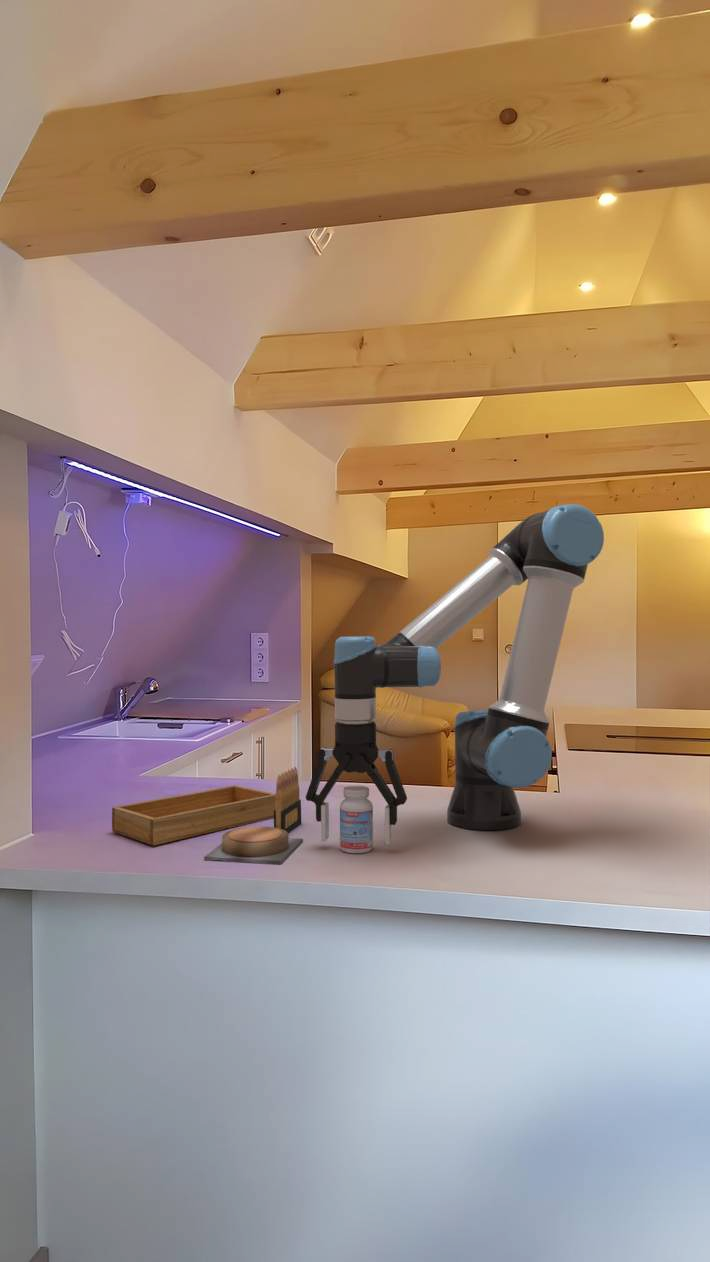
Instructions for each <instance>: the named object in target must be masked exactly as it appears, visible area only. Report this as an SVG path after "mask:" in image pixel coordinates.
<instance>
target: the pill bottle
mask: <svg viewBox="0 0 710 1262" xmlns="http://www.w3.org/2000/svg"><path fill="white" fill-rule="evenodd" d="M342 794H343V798H345V799H343V800H341V802H340V804H339V847H340V850H341V851H342V852H343V853H349V854H364V853H365V854H366V853H368V852H370V851H372V849H373V846H374V845H373V842H374V841H373V840H374V837H373V836H374V831H373V830H374V829H373V828H374V821H373V820H374V819H373V818H374V813H373V812H374V811H373V810H374V806H373V803H372V801H371V800H370V799H368V798H369V797H370V796H369V795H370V789H369V787H368V786H365V785H348V786H346V787H344V788H343V793H342Z"/></svg>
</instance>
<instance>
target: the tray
mask: <svg viewBox="0 0 710 1262" xmlns="http://www.w3.org/2000/svg"><path fill="white" fill-rule="evenodd" d="M275 796H276V793H274V792H273V793H272V792H269V791H263V790H259V789H254V788H249V787H244V786H242V785H241V786H240V785H229V786H228V785H227V786H223V787H219V788H213V789H212V788H211V789H206V790H201V791H195V792H190V793H185V794H179V795H173V796H169V797H168V796H167V797H162V798H156V799H151V800H146V801H139V802H134V803H128V804H122V805H117V806H113V807H112V809H111V810H112V811H111V828H112V829H111V831H112V832H113V833H114V834H117V835H121V836H124V837H126V838H130V839H133V840H136V841H138V842H141V843H145V844H148V845H151V846H158V845H162V844H167V843H171V842H174V841H175V842H176V841H178V840H183V839H188V838H193V837H196V836H200V835H205V834H211V833H213V832H217V831H222V830H227V828H228V829H231V828H232V829H233V828H237V827H240V826H244V824H245V825H250V824H254V823H258V822H257V821H259V822H263V821H268V820H271V818H272V819H274V810H275ZM262 820H263V821H262ZM253 822H254V823H253ZM249 823H250V824H249ZM236 826H237V827H236Z"/></svg>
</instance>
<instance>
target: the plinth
mask: <svg viewBox="0 0 710 1262" xmlns="http://www.w3.org/2000/svg"><path fill="white" fill-rule="evenodd" d="M303 842H304V839H303V838H301V837H300V838H297V837H295V838H294V837H289V833H288V832H287V831H285V830H283V829H279V828H274V826H273V827H271V826H248V827H241V828H235V829H232V830H229V831H227V832H225V833H223V834H222V836H221V844H219V845H218V846H217V847H215V848H214V849H213V850H211V851H209V852H208V853H207V854H206V855H205V856H203V859H205V860H204V861H211V860H224V861H223V862H229V861H238V862H237V863H246V862H250V864H264V863H266V864H265V865H282V864H283V863H284V862H285V861H286V860H287V859H289V857H290V856H291V855H292V854H293V852H294V851H296V849H298V847H299V846H300V845H302V844H303Z"/></svg>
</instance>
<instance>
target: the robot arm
mask: <svg viewBox="0 0 710 1262" xmlns="http://www.w3.org/2000/svg"><path fill="white" fill-rule="evenodd" d="M604 542H605V533H604V529H603V526H602V523H601V521H599V519H598V517H597V515H596V514H595V513H594V512H593V511H591V510H590V509H588V508H587V507H585V506H584V505H580V504H574V503H573V504H571V503H570V504H560V505H555V506H554V507H551V508H550V509H548V510H544V511H541V512H537V513H534V514H531V515H530V516H527V518H524V519H523V520H522V521H521V522H520V523H518V524H517V525H516V526H515V527H514V528H513V529H512V530H510V531H509V532H508V533H507V534H506V536H504V537H503V538H502V539H501V540H500V541H498V542H497V544H495V545H494V546H493V547H491V548H490V550H489V551H488V557H487V558H486V559H485V560H484V561H483V562H482V563H480V564H479V565H478V566H477V567H475V568H474V569H473V570H472V571H471V572H469V573H468V574H467V575H466V576H465V577H464V578H462V579H461V580H459V582H457V583H456V584H455V585H454V586H452V587H451V589H449V590H448V591H447V592H446V593H444V594H443V595H442V596H441V597H439V598H438V599H437V600H436V601H435V602H434V603H432V604H431V605H430V606H429V607H427V609H425V610H424V611H423V612H422V613H421V614H419V615H418V616H417V617H416V618H415V619H413V620H412V621H410V622H409V623H408V624H407V625H406V626H405V627H404V628H402V629H401V630H400V631H399V632H398V633H397V634H395V635H394V636H393V637H392V638H390V639H389V640H388V641H386V642H385V643H382V644H380V645H378V646H377V644H376V638H375V637H373V636H369V635H368V636H367V635H366V636H364V635H363V636H339V637H338V638H337V639H336V640H335V643H334V657H333V658H334V660H333V667H334V670H333V671H334V672H333V673H334V719H335V720H336V723H334V747H333V748H326V747H321V748H320V749H319V750H318V751H317V762H316V766H315V769H314V772H313V775H312V778H311V781H310V784H309V786H308V789H307V792H306V795H305V800H306V801H308V802H312V803H314V804H315V820H316V822H317V823H319V822H320V825H321V826H320V827H321V828H320V830H321V832H320V833H321V834H320V835H321V842H326V841H327V840H328V839H329V838H330V822H329V821H330V818H329V816H330V815H329V814H330V813H329V812H330V811H329V810H330V809H329V805H330V804H329V802H326V801H325V800H326V799H327V798H328V795H329V794H330V793H331V790H332V789H333V788H334V786H335V785H336V783H337V782H338V780H339V779H340V777H341V776H342V774H343V773H344V772H345V773H358V774H364V773H366V774H367V776H368V777H369V778H370V779H371V780H372V782H373V784H374V786H375V787H376V788H377V789H378V791H379V793H380V794H381V796H382V797H383V799H384V800H385V802H386V803H387V804H386V806H385V807H384V845H390V844H391V842H392V833H393V831H392V826H395V825H396V824H397V823H398V822H397V821H398V806H401V805H405V804H406V802H407V801H408V797H407V793H406V790H405V788H404V786H403V782H402V780H401V777H400V775H399V771H398V769H397V766H396V764H395V757H394V756H395V752H394V750H393V748H389V749H388V750H385V749H379V748H378V746H377V723H376V721H374V720H375V719H376V718H377V704H376V703H377V702H376V701H377V699H376V697H377V693H376V692H377V688H379V689H380V688H381V689H382V688H420V689H422V688H423V687H433V686H436V685H437V684H438V682H439V681H440V678H441V671H442V664H441V663H442V661H441V657H440V653H439V651H438V648H440V647H441V646H443V644H444V643H446V642H447V641H448V640H449V639H450V638H451V637H453V636H454V635H456V633H457V632H459V631H460V630H461V629H462V628H464V627H465V626H466V625H467V624H468V623H469V622H471V621H472V620H473V619H474V618H476V616H478V615H479V614H480V613H482V611H484V610H485V609H486V608H488V607H489V606H490V605H491V604H492V603H493V602H494V601H496V599H498V598H499V597H500V596H501V595H503V594H504V593H505V592H507V591H508V590H509V589H510V588H511V587H512V586H519V587H520V586H521V585H522V584H524V583H525V582H526V581H527V584H526V588H525V593H524V598H523V600H522V604H521V609H520V613H519V617H518V621H517V626H516V630H515V634H514V638H513V641H512V644H511V651H510V654H509V658H508V662H507V666H506V671H505V674H504V679H503V683H502V686H501V691H500V695H499V698H498V700H497V701H495V702H493V703H492V704H490V705H489V706H488V708H487V710H470V711H469V710H467V711H459V712H458V713H457V714H456V715H455V717H454V718H455V719H454V721H455V723H454V727H453V730H454V759H455V760H454V761H455V762H454V763H455V764H454V765H455V769H454V771H455V776H454V777H455V778H454V779H455V780H454V782H455V783H454V787H453V791H452V794H451V797H450V800H449V802H448V806H447V811H446V814H447V815H446V817H447V819H446V820H447V822H448V823H449V824H451V825H453V826H456V827H459V828H463V829H469V830H476V831H477V830H478V831H500V830H501V831H502V830H509V829H513V828H516V827H519V826H520V825H522V810H521V808H520V805H519V802H518V798H517V795H516V792H515V789H516V788H517V789H520V788H521V789H522V788H527V787H529V786H532V785H533V784H535V783H537V782H539V781H540V780H541V779H542V778H543V777H544V776H545V775H546V773H547V772H548V770H549V768H550V766H551V763H552V755H553V753H552V752H553V751H552V746H551V744H550V742H549V739H548V738H547V736H548V735H547V734H548V731H549V727H550V719H549V718H548V716H547V715H546V713H545V707H546V705H547V704H546V702H547V699H548V695H549V691H550V686H551V683H552V678H553V675H554V670H555V666H556V662H557V659H558V653H559V649H560V645H561V641H562V637H563V633H564V628H565V624H566V621H567V617H568V612H569V610H570V609H569V608H570V604H571V600H572V596H573V591H574V590H575V588H577V587H578V586H580V585H582V584H583V583H584V582H585V577H586V574H587V570H588V565H589V564H590V563H592V562H593V561H594V560H595V559H597V558H598V557H599V555H600V554H601V553H602V552H601V551H602V549H603V547H604ZM331 757H333V758H334V759H335V760H336V762H337V764H338V765H337V766H336V767H335V769H334V771H333V772H332V773H331V776H330V777H329V778H328V780H327V782H326V783H325V784H324V786H323V788H322V789H321V791H320V792H319V793H317V792H318V789H319V785H320V783H321V780H322V777H323V774H324V772H325V768H326V766H327V761H328V762H329V760H331ZM378 757H379V758H380V759H381V762H383V763H384V764H385V768H386V771H387V773H388V776H389V779H390V782H391V784H392V787H393V791H394V793H395V795H394V793H393V792H392V789H390V787H389V786H388V784H387V782H386V781H385V780H384V778H383V776H382V775H381V773H380V772H379V769H378V767H377V766H376V765H375V762H376V760H377V759H378ZM514 788H515V789H514Z"/></svg>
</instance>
